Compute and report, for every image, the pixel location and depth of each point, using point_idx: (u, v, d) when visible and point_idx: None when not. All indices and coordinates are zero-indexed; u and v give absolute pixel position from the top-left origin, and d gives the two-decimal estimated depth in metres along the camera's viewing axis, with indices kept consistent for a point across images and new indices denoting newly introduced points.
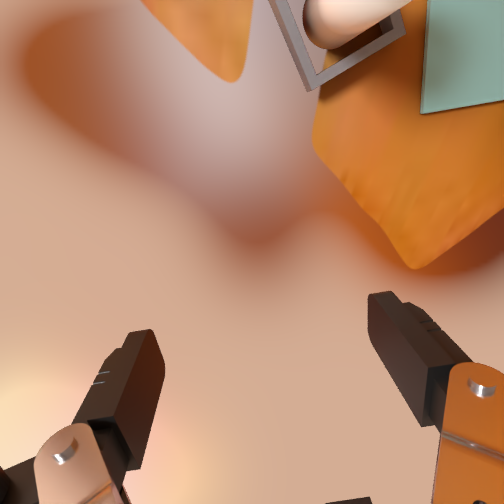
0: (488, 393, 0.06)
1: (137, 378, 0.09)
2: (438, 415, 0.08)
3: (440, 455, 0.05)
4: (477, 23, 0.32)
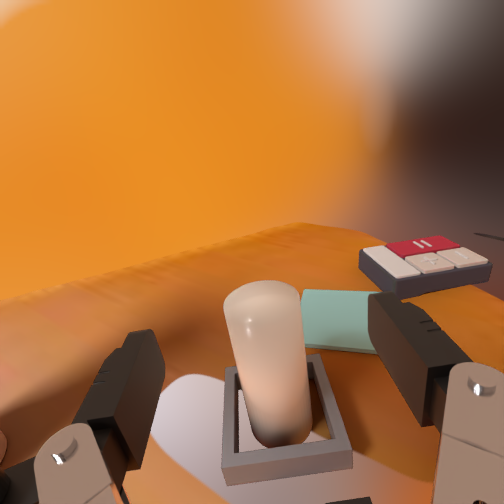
0: (488, 393, 0.06)
1: (137, 378, 0.09)
2: (438, 415, 0.08)
3: (440, 455, 0.05)
4: (326, 318, 0.41)
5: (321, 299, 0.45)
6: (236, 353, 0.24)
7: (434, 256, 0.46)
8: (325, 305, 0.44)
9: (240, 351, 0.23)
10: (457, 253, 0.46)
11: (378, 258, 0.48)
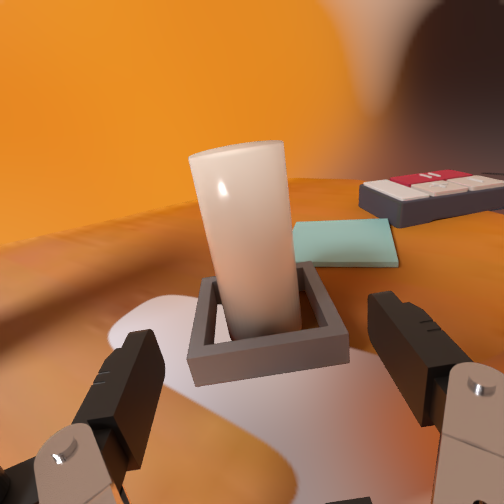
0: (488, 393, 0.06)
1: (137, 378, 0.09)
2: (438, 415, 0.08)
3: (440, 455, 0.05)
4: (320, 241, 0.37)
5: (315, 228, 0.41)
6: (205, 216, 0.19)
7: (444, 182, 0.41)
8: (319, 232, 0.39)
9: (209, 207, 0.19)
10: (470, 179, 0.41)
11: (381, 187, 0.42)
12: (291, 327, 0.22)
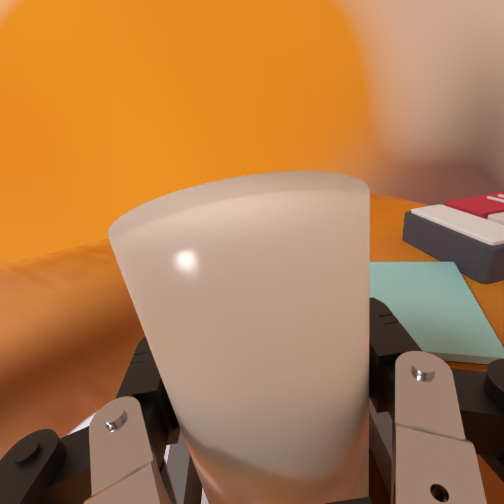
0: (426, 378, 0.07)
1: None
2: (389, 400, 0.08)
3: (397, 446, 0.05)
4: None
5: None
6: (159, 371, 0.08)
7: None
8: None
9: (164, 366, 0.07)
10: None
11: (443, 219, 0.30)
12: None
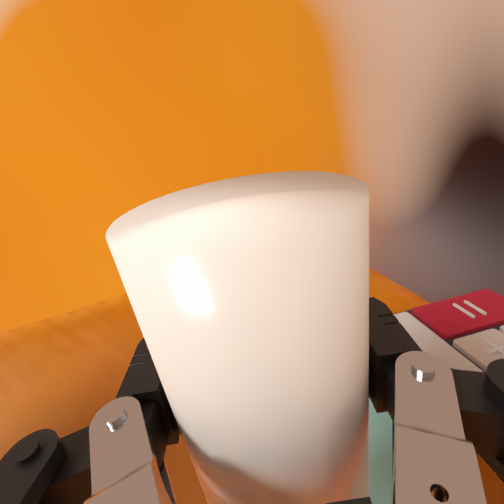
0: (426, 378, 0.07)
1: None
2: (389, 401, 0.08)
3: (397, 446, 0.05)
4: None
5: None
6: (158, 372, 0.07)
7: (502, 338, 0.27)
8: None
9: (163, 368, 0.07)
10: None
11: None
12: None
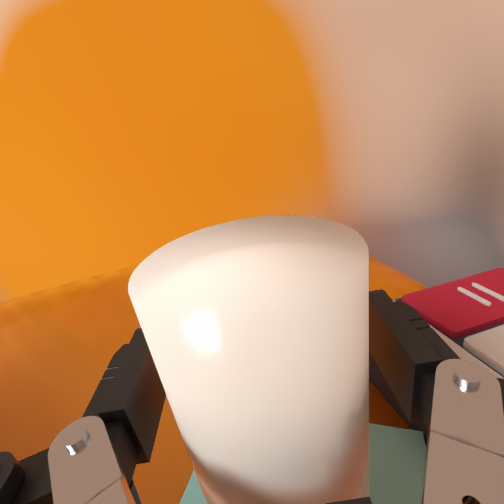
0: (472, 388, 0.07)
1: (145, 373, 0.09)
2: (426, 411, 0.08)
3: (429, 452, 0.05)
4: None
5: None
6: (173, 412, 0.08)
7: None
8: None
9: (179, 411, 0.07)
10: None
11: None
12: None
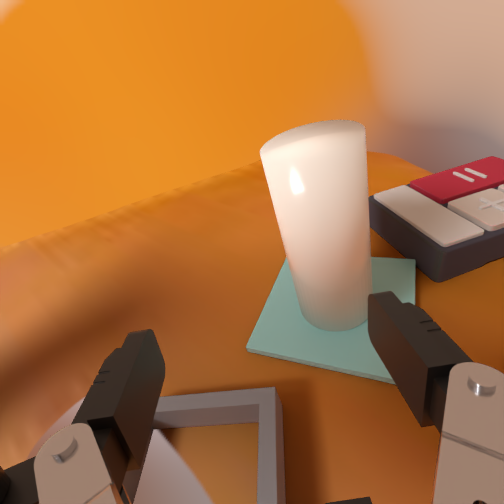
0: (488, 393, 0.06)
1: (136, 378, 0.09)
2: (438, 415, 0.08)
3: (440, 455, 0.05)
4: None
5: None
6: (279, 213, 0.19)
7: (498, 195, 0.27)
8: None
9: (285, 207, 0.18)
10: None
11: (403, 210, 0.29)
12: (364, 309, 0.23)
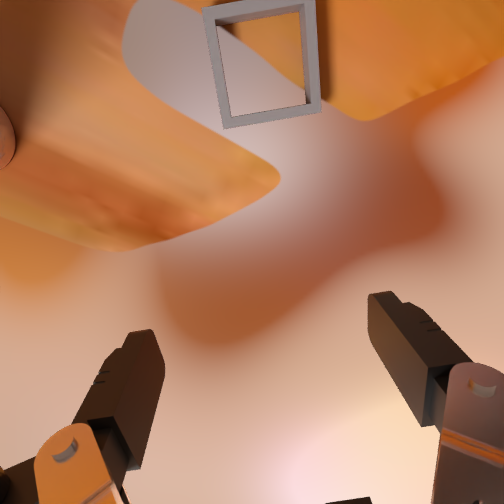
0: (488, 393, 0.06)
1: (137, 378, 0.09)
2: (438, 415, 0.08)
3: (440, 455, 0.05)
4: None
5: None
6: None
7: None
8: None
9: None
10: None
11: None
12: None
